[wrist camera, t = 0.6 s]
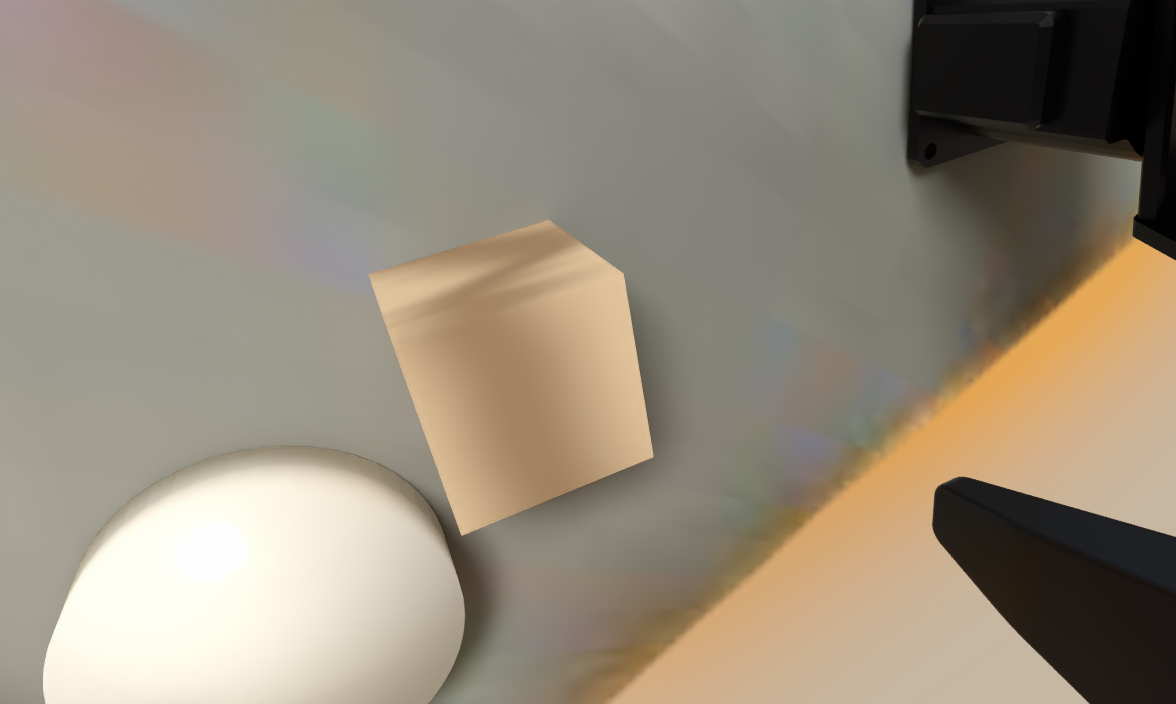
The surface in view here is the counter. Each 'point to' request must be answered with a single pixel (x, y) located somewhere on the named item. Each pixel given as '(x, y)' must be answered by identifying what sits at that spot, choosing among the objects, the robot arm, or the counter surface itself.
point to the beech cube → (517, 368)
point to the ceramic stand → (262, 590)
